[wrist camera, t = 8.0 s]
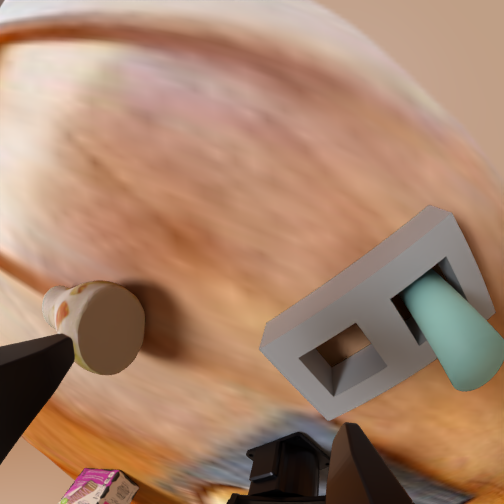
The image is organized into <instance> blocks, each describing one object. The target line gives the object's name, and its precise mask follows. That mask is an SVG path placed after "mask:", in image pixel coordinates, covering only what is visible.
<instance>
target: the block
mask: <svg viewBox="0 0 504 504" xmlns="http://www.w3.org/2000/svg"><path fill="white" fill-rule="evenodd" d="M437 263H438V265H439V267H440V269H441V271H442V272H443V274H444V276H445V278H446V280H447V282H448V284H450V285H451V286H452V287H453V288H454V289H455V290H456V291H457V292H458V293H459V294H460V295H461V296H462V297H463V298H464V299H465V300H466V301H467V302H468V303H469V304H470V305H471V306H472V307H473V308H475V309H476V310H477V311H478V313H479V314H480V315H481V316H482V317H483V318H484V319H485V320H488V319H489V318H490V317H491V316H492V315H493V314H495V313H496V312H495V309H494V306H493V303H492V301H491V298H490V295H489V293H488V290H487V287H486V285H485V282H484V280H483V277H482V275H481V273H480V270H479V268H478V266H477V263H476V261H475V259H474V257H473V254H472V252H471V250H470V248H469V246H468V244H467V242H466V240H465V238H464V236H463V234H462V232H461V230H460V228H459V226H458V224H457V222H456V220H455V218H454V216H453V214H452V213H451V212H448V211H445V210H443V209H440V208H437V207H434V206H431V205H428V206H427V207H426V208H425V209H424V210H422V211H421V212H420V213H419V214H417V215H416V216H415V217H414V218H412V219H411V220H410V221H409V222H407V223H406V224H405V225H403V226H402V227H401V228H400V229H398V230H397V231H396V232H395V233H393V234H392V235H391V236H389V237H388V238H387V239H385V240H384V241H383V242H381V243H380V244H379V245H377V246H376V247H375V248H373V249H372V250H371V251H369V252H368V253H367V254H365V255H364V256H363V257H361V258H360V259H359V260H357V261H356V262H355V263H353V264H352V265H350V266H349V267H348V268H346V269H345V270H344V271H342V272H341V273H339V274H338V275H337V276H335V277H334V278H332V279H331V280H329V281H328V282H327V283H325V284H324V285H322V286H321V287H319V288H318V289H317V290H315V291H314V292H312V293H311V294H309V295H308V296H306V297H305V298H303V299H302V300H300V301H299V302H298V303H296V304H295V305H293V306H292V307H290V308H289V309H287V310H286V311H284V312H283V313H281V314H279V315H278V316H276V317H275V318H273V319H272V320H270V321H269V322H267V323H266V326H265V330H264V333H263V337H262V340H261V344H260V347H259V350H260V351H261V352H262V353H263V354H264V355H265V357H266V358H267V359H268V360H269V361H270V362H271V363H272V364H273V365H274V366H275V367H276V368H277V369H278V370H279V371H280V373H281V374H282V375H283V376H284V377H285V378H286V379H287V380H288V381H289V382H290V383H291V384H292V385H293V386H294V387H295V388H296V389H297V390H298V391H299V392H300V393H301V394H302V395H303V396H304V397H305V398H306V399H307V400H308V401H309V402H310V403H311V404H312V405H313V406H314V407H315V408H316V409H317V410H318V411H319V412H320V413H321V414H322V415H323V416H324V417H325V418H326V419H327V420H328V421H329V420H331V419H334V418H336V417H338V416H340V415H342V414H344V413H346V412H348V411H350V410H352V409H354V408H356V407H358V406H360V405H362V404H363V403H365V402H367V401H369V400H371V399H373V398H375V397H376V396H378V395H380V394H382V393H383V392H385V391H387V390H389V389H390V388H392V387H394V386H395V385H397V384H399V383H400V382H402V381H404V380H405V379H407V378H408V377H410V376H412V375H413V374H415V373H416V372H418V371H419V370H421V369H422V368H424V367H425V366H427V365H428V364H430V363H431V362H433V361H434V360H436V359H437V356H436V354H435V353H434V351H433V349H432V347H431V346H430V344H429V342H428V341H427V339H426V337H425V336H424V334H423V332H422V331H421V329H420V327H419V326H418V324H417V323H416V321H415V319H414V318H413V316H411V317H410V318H409V319H407V320H406V321H405V320H404V318H403V317H402V315H401V313H400V312H399V310H398V309H397V307H396V306H395V304H394V302H393V301H392V299H391V298H392V297H394V296H395V295H396V294H398V293H399V292H400V291H402V290H403V289H405V288H406V287H407V286H409V285H410V284H411V283H413V282H414V281H415V280H417V279H418V278H419V277H420V276H422V275H423V274H424V273H426V272H427V271H428V270H429V269H431V268H432V267H433V266H435V265H436V264H437ZM354 323H357V325H358V326H359V327H360V329H361V330H362V331H363V333H364V334H365V336H366V337H367V338H368V340H369V341H370V342H371V344H370V345H368V346H367V347H365V348H364V349H362V350H360V351H359V352H357V353H355V354H354V355H352V356H351V357H349V358H347V359H346V360H344V361H342V362H340V363H339V364H337V365H335V366H333V367H331V366H330V365H329V364H328V363H327V361H326V360H325V359H324V358H323V357H322V356H321V354H320V353H319V352H318V351H317V350H316V349H315V348H316V347H318V346H319V345H321V344H323V343H324V342H326V341H327V340H329V339H331V338H332V337H334V336H336V335H337V334H339V333H340V332H342V331H343V330H345V329H347V328H348V327H350V326H351V325H353V324H354Z"/></svg>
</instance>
